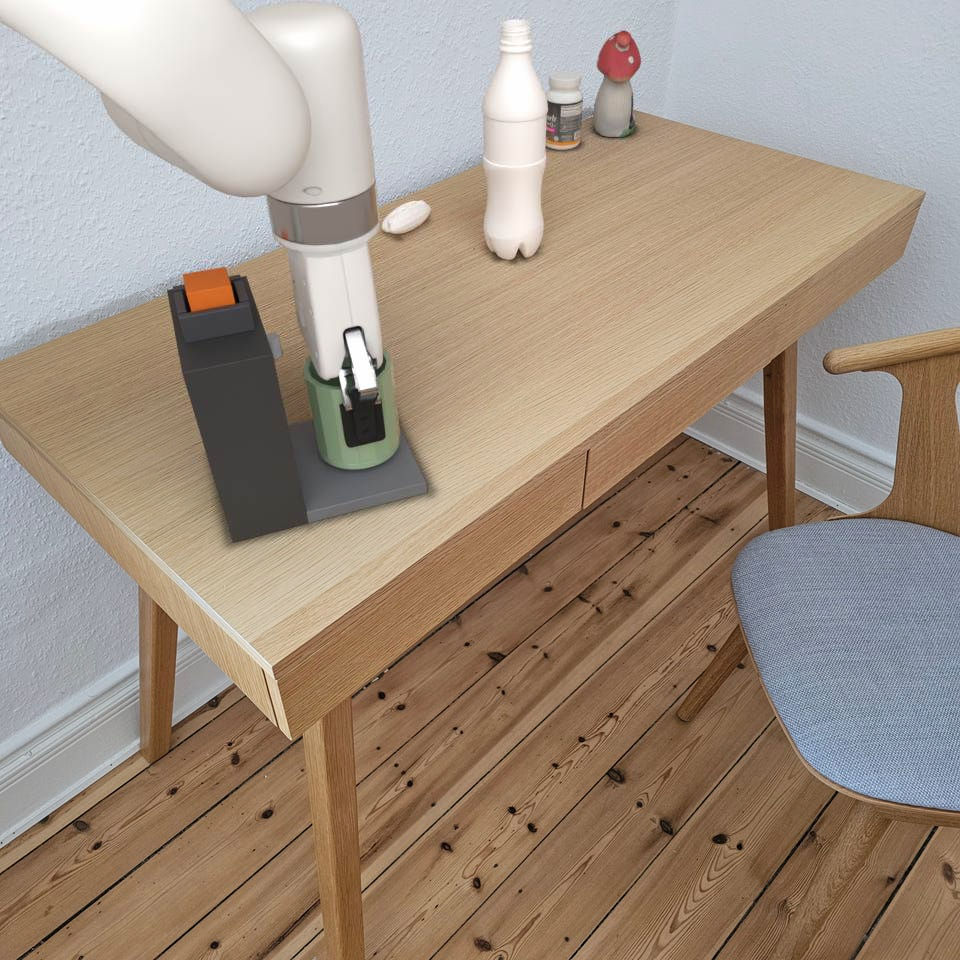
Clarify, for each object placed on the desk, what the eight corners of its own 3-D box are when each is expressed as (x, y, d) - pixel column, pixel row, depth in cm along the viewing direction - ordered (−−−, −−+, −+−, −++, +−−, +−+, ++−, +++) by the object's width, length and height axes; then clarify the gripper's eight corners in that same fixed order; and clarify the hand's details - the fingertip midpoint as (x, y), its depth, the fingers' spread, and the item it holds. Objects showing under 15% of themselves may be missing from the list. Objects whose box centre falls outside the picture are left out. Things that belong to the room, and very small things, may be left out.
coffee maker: (232, 543, 66) (174, 347, 55) (213, 452, 75) (159, 265, 63) (427, 493, 70) (412, 300, 59) (388, 412, 79) (368, 229, 67)
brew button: (194, 322, 59) (186, 293, 57) (189, 301, 61) (182, 273, 59) (237, 313, 60) (231, 285, 58) (232, 294, 62) (225, 266, 60)
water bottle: (508, 232, 107) (509, 11, 90) (554, 248, 103) (565, 21, 87) (471, 253, 103) (466, 25, 86) (518, 270, 99) (522, 36, 83)
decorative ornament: (626, 143, 129) (636, 35, 119) (584, 138, 131) (591, 31, 121) (640, 123, 135) (651, 19, 126) (600, 118, 137) (608, 16, 127)
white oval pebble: (379, 236, 107) (376, 215, 105) (418, 213, 111) (416, 192, 110) (398, 242, 105) (396, 221, 103) (437, 219, 110) (436, 198, 108)
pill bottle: (536, 141, 130) (538, 72, 124) (568, 135, 132) (572, 66, 125) (554, 153, 126) (556, 83, 120) (587, 147, 128) (591, 77, 122)
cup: (327, 478, 69) (312, 398, 64) (310, 428, 74) (295, 350, 69) (410, 457, 71) (402, 378, 65) (387, 410, 76) (378, 333, 70)
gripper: (249, 171, 64) (289, 369, 75) (294, 274, 51) (333, 491, 63) (347, 156, 66) (371, 351, 77) (412, 252, 53) (429, 467, 65)
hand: (353, 413), depth 70 cm, fingers closed on cup, 7 cm apart
